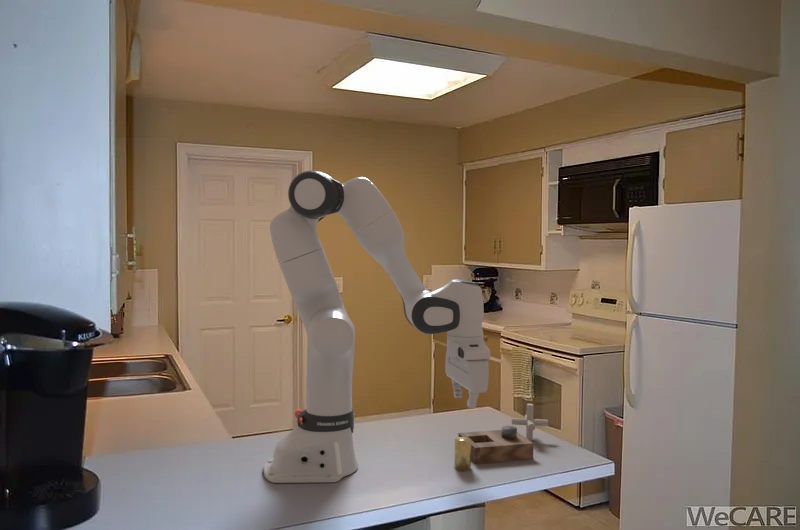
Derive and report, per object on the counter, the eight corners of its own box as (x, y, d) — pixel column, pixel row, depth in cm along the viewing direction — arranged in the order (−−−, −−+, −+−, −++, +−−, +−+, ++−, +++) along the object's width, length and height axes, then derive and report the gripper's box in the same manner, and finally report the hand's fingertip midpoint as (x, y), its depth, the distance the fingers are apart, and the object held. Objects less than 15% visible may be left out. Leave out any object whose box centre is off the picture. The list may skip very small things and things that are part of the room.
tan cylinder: (457, 471, 145) (458, 442, 145) (452, 465, 149) (452, 437, 149) (473, 470, 146) (473, 441, 146) (467, 464, 150) (467, 436, 150)
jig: (474, 463, 151) (475, 438, 151) (458, 447, 162) (458, 424, 162) (533, 458, 155) (533, 434, 155) (512, 443, 166) (513, 420, 166)
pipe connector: (544, 434, 174) (545, 400, 174) (550, 446, 164) (550, 410, 164) (509, 433, 175) (510, 399, 175) (512, 444, 165) (513, 408, 165)
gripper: (439, 339, 156) (439, 392, 157) (467, 354, 136) (467, 415, 137) (462, 339, 158) (461, 391, 158) (493, 353, 138) (493, 413, 138)
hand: (464, 402), depth 147 cm, fingers open, 8 cm apart
